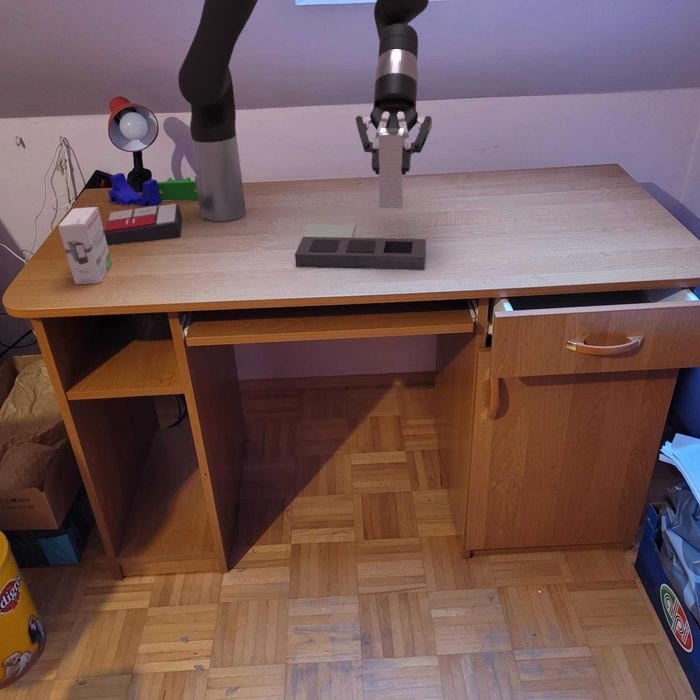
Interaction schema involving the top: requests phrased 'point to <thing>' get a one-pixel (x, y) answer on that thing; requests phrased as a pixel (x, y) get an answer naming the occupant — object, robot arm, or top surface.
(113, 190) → the cable clip
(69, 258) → the ink box
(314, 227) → the mat
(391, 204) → the steel plug
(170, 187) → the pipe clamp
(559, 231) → the top surface
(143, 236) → the red grey box
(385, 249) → the dark grey slotted tray
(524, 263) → the top surface
